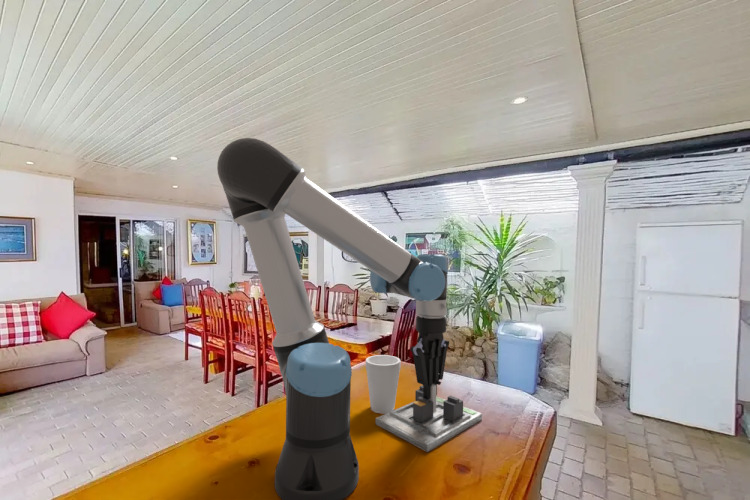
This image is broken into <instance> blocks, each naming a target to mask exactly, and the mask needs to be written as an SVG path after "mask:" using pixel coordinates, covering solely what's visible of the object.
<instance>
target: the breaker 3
mask: <svg viewBox="0 0 750 500" xmlns="http://www.w3.org/2000/svg"><path fill="white" fill-rule="evenodd" d="M463 407H464V400H462V399H459V398H458V397H456V396H453V395H449V396H447V399H445V401H444V402H443V418H445V419H447V420H450V421H452V422H453V421H455V420H457V419H459V418H461V417H463Z"/></svg>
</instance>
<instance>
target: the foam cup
mask: <svg viewBox="0 0 750 500" xmlns="http://www.w3.org/2000/svg"><path fill="white" fill-rule="evenodd" d="M401 364H402V362H401V358H399V357H397V356H393V355H388V354H378V355H372V356H368V357H366V358H365V371H366V377H367V385H368V387H367V388H368V395H369V403H370V404H369V405H370V410H371V411H372V412H374V413H377V414H382V415H384V414H387V413H389V412H390V411H393V410H395V405H396V399H397V392H398V391H397V390H398V385H399V379H400V378H399V377H400V372H401V368H402V367H401V366H402V365H401Z"/></svg>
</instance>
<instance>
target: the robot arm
mask: <svg viewBox="0 0 750 500" xmlns="http://www.w3.org/2000/svg"><path fill="white" fill-rule="evenodd" d="M216 166H217V167H216V168H217V175H218V177H219V181H220V182H221V185H222V189H223V192H224V194H225V197H226V200H227V203H228V206H229V209H230V212H231V216H232V218H233V222H234V223H236V224H238V225H240V226H242V227H243V228H244V232H245V234H246V238H247V242H248V245H249V248H250V251H251V254H252V258H253V260H254V263H255V267H256V270H257V274H258V278H259V281H260V283H261V286H262V290H263V293H264V296H265V297H264V298H265V300H266V303H267V307H268V309H269V312H270V313H269V314H270V315H271V319H272V323H273V325H274V328H275V332H276V335H275V337H274V339H273V340H272V343H271V344H272V346H273V350H274V354H275V358H276V361H277V363H278V367H279V372H280V374H281V376H282V377H281V378H282V381H283V385H284V386H283V387H284V391H285V399H286V401H285V402H286V403H285V404H286V405H285V406H286V407H285V412H286V413H285V440H284V442H283V445H282V449H281V452H280V454H279V458H278V462H277V464H276V467H275V472H274V488H275V489H274V490H275V492H276V494H277V496H278V497H279V498H280V499H281V500H345V498H347V497H349V495H350V494H352V492H354V490H355V489H356V487H357V485H358V483H359V476H360V473H359V472H360V471H359V469H360V466H359V460H358V457H357V454H356V450H355V448H354V444H353V440H352V438H351V425H350V424H351V389H352V387H351V386H352V384H351V382H352V380H351V379H352V375H353V373H352V370H353V369H352V366H351V364H352V363H351V358H350V355H349V353H348V352H347V350H346V349H344V348H343V347H341V346H339V345H334V344H332V343H330V341H329V338H328V335H327V332H326V329H325V326H324V324H323V323H321V322H319V321H317V320H316V318H315V316H314V312H313V309H312V305H311V303H310V302H311V301H310V298H309V295H308V293H307V289H306V287H305V281H304V279H303V276H302V272H301V269H300V266H299V262H298V259H297V255H296V252H295V248H294V246H293V242H292V239H291V236H290V232H289V229H288V226H287V222H286V219H285V218H286V217H285V216H286V215H287V216H288V217H290V218H291V219H293V220H295V221H296V222H297V223H299V224H301V225H302V226H303V227H305V228H306V229H308V230H309V231H311V232H312V233H314V234H316V235H317V236H319V237H321V238H322V239H323V240H325V241H326V242H327V243H329V244H331V245H332V246H334V247H335V248H337V249H338V250H340V251H342V253H344V254H346V255H347V256H349V257H351V258H352V259H353V260H355V261H357V262H358V263H359V264H361V265H362V266H364V267H365V268H367V269H368V270H369V271H370V273H369V282H370V283H369V284H370V288H371V289H372V291H373V292H375V293H376V294H396V295H399V296H404V297H407V298H409V299H410V298H411V299H413V300H414V299H415V302H416V304H415V306H416V307H415V313H416V315H417V316H416V317H415V330H416V331H417V332H418V337H417V343H416V345H414V346H413V345H412V346H411V347H410V351H411V352H410V353H412V357H413V363H414V369H415V370H414V371H415V377H416V382H417V384H420V385H421V386H422V385H423V397H424V398H426V399H428V400H430V401H432V402H433V413H434V412H436V396H437V394H438V386H441V384H442V382H441V381H442V380H443V378H444V372H445V366H446V360H447V359H446V358H447V352H448V349H449V347H450V346H449V345H450V341H449V340H446V339H445V338H444V334H445V333H446V332H447V317H446V315H447V295H448V292H447V290H448V263H447V262H448V260H447V257H446V256H445V255H443V254H427V253H426V254H424V253H423V254H418V255H417V256H415V255H414V254H412V253H411V252H410V251H408V250H407V249H406V248H404V247H403V246H401V245H400V244H399V243H397V242H396V241H394V240H393V239H392V238H390V237H389V236H387V235H386V234H385V233H383V232H382V231H381V230H379V229H378V228H376V227H375V226H373V224H370V222H369V221H367V220H365V219H364V218H363V217H361V216H360V215H358V214H357V213H355V212H354V211H353V210H351V209H350V208H349V207H347V206H346V205H344V204H343V203H342V202H340V201H339V200H338V199H336V198H335V197H334V196H332V195H331V194H329V193H328V192H326V190H323V189H322V188H321V187H320V186H318V185H317V184H316V183H314V182H313V181H311V180H310V179H308V178H307V176H306V172H305V169H304V168H303V167H301V165H298V164H297V163H296V162H295V161H294V160H292V159H291V158H289V157H288V156H286V155H285V154H284V153H282V152H281V151H280V150H278V149H277V148H275V147H274V146H272V145H271V144H270V143H268V142H265V141H264V140H262V139H261V140H260V139H258V138H254V137H253V138H252V137H245V138H244V137H243V138H239V139H236V140H233V141H231V142H230V143H229V144H227V145H226V146H225V147H224V148H223V149H222V151H221V152H220V154H219V156H218V160H217V165H216Z"/></svg>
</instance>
